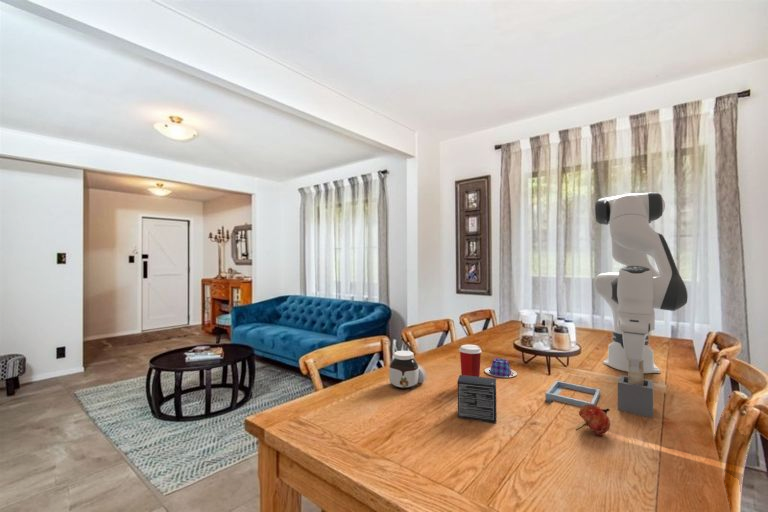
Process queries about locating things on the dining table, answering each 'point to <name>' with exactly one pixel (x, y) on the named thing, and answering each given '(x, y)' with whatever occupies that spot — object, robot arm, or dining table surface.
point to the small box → (477, 398)
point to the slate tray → (556, 389)
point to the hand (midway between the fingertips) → (635, 369)
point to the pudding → (500, 368)
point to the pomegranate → (595, 418)
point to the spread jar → (405, 371)
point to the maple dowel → (636, 374)
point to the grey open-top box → (635, 397)
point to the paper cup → (470, 360)
